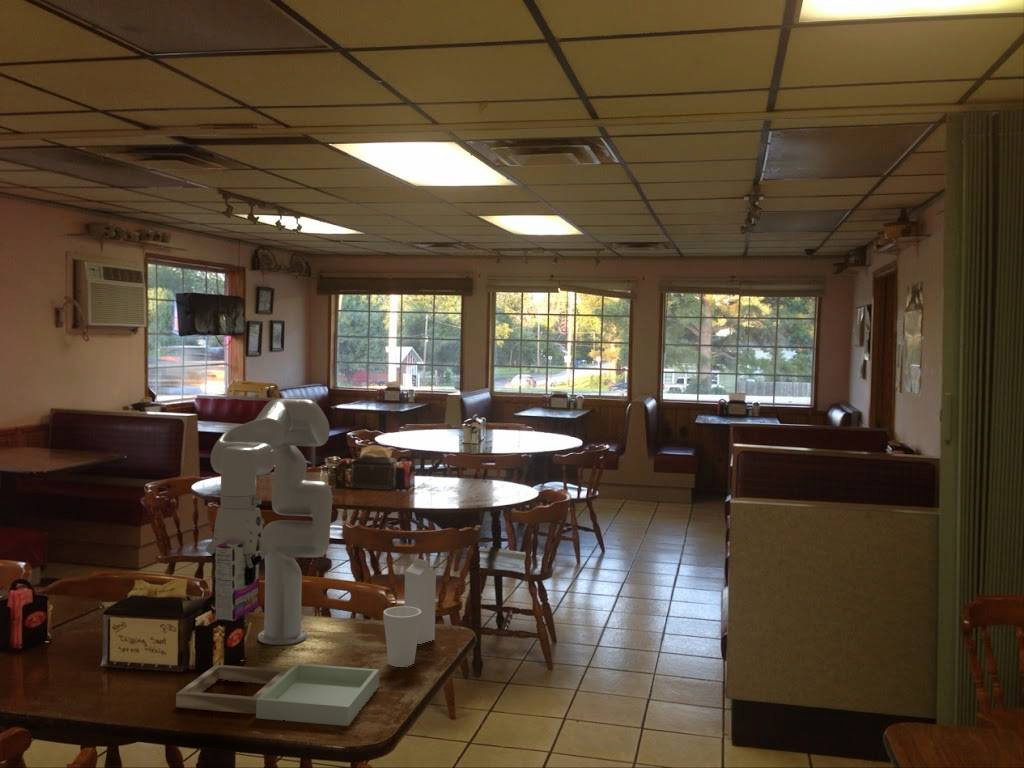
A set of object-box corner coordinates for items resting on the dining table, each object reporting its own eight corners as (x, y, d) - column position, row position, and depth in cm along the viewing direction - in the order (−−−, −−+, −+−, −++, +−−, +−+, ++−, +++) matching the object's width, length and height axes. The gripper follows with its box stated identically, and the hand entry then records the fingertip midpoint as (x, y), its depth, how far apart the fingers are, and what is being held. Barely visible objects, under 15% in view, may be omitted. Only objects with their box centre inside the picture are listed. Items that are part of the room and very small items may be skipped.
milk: (418, 645, 233) (419, 563, 232) (403, 640, 237) (404, 559, 236) (435, 640, 237) (436, 559, 236) (420, 635, 241) (421, 555, 241)
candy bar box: (239, 605, 202) (240, 534, 202) (259, 607, 201) (260, 536, 201) (213, 620, 191) (213, 545, 191) (233, 622, 190) (234, 546, 190)
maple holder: (215, 677, 207) (215, 664, 207) (288, 683, 204) (289, 670, 204) (176, 707, 189) (176, 693, 189) (255, 714, 187) (255, 699, 187)
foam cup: (405, 654, 226) (406, 604, 225) (428, 664, 219) (429, 612, 219) (374, 662, 219) (375, 611, 219) (397, 673, 213) (398, 619, 212)
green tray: (296, 680, 206) (296, 663, 206) (378, 686, 204) (379, 669, 203) (256, 718, 185) (256, 699, 184) (348, 726, 182) (348, 706, 182)
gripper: (281, 501, 198) (280, 581, 198) (211, 497, 200) (210, 576, 201) (267, 507, 190) (266, 590, 191) (194, 503, 193) (193, 585, 194)
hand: (237, 582), depth 196 cm, fingers closed on candy bar box, 5 cm apart
